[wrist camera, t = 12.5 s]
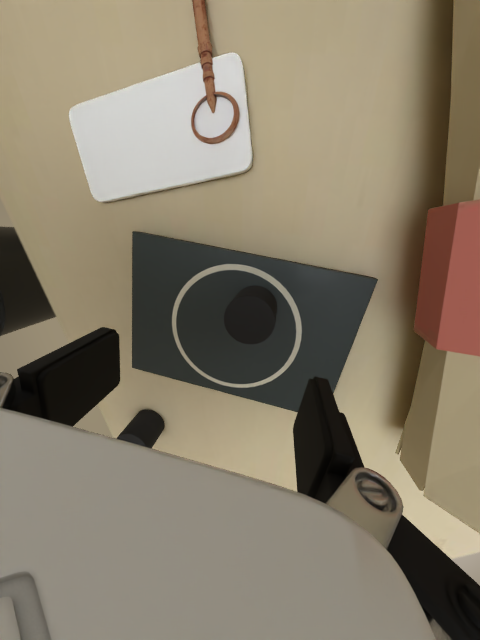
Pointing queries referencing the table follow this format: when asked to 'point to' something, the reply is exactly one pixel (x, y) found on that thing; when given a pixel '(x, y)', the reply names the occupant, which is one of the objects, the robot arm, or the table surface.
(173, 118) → the smartphone
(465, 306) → the scroll
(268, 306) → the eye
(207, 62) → the key
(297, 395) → the face board
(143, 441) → the black cylinder roller
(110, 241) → the table surface
